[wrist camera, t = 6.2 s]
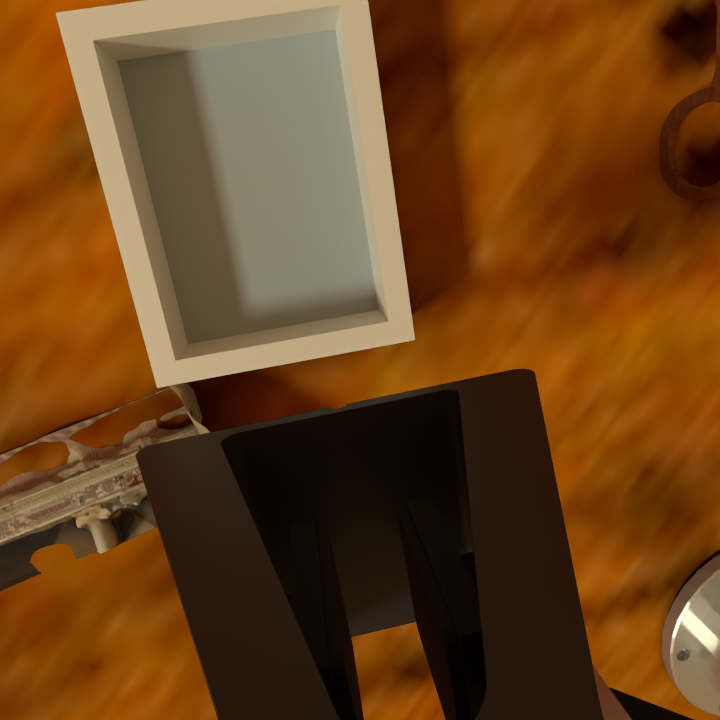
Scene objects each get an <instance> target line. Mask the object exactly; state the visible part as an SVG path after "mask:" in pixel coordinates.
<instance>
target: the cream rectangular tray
mask: <svg viewBox="0 0 720 720" xmlns="http://www.w3.org/2000/svg"><path fill="white" fill-rule="evenodd" d="M56 16H57V20H58V23H59V27H60V31H61V35H62V38H63V42H64V46H65V49H66V53H67V57H68V60H69V64H70V68H71V71H72V75H73V79H74V83H75V86H76V90H77V94H78V97H79V101H80V105H81V108H82V112H83V116H84V120H85V123H86V127H87V131H88V134H89V138H90V142H91V145H92V149H93V153H94V156H95V160H96V164H97V168H98V171H99V175H100V179H101V182H102V186H103V190H104V193H105V197H106V201H107V204H108V208H109V212H110V216H111V219H112V223H113V227H114V230H115V234H116V238H117V241H118V245H119V249H120V253H121V256H122V260H123V264H124V267H125V271H126V275H127V278H128V282H129V286H130V289H131V293H132V297H133V301H134V304H135V308H136V312H137V315H138V319H139V323H140V326H141V330H142V334H143V338H144V341H145V345H146V349H147V352H148V356H149V360H150V363H151V367H152V371H153V374H154V378H155V382H156V386H157V388H159V387H164V386H170V385H175V384H181V383H186V382H191V381H197V380H202V379H208V378H213V377H218V376H224V375H229V374H234V373H240V372H245V371H251V370H256V369H261V368H267V367H272V366H278V365H283V364H288V363H294V362H299V361H304V360H310V359H315V358H321V357H326V356H331V355H337V354H342V353H348V352H353V351H358V350H364V349H369V348H374V347H380V346H385V345H391V344H396V343H401V342H407V341H412V340H415V336H414V329H413V322H412V314H411V307H410V300H409V293H408V286H407V278H406V271H405V264H404V257H403V249H402V242H401V235H400V228H399V220H398V213H397V206H396V199H395V192H394V184H393V177H392V170H391V163H390V155H389V148H388V141H387V134H386V127H385V119H384V112H383V105H382V98H381V90H380V83H379V76H378V69H377V62H376V54H375V47H374V40H373V33H372V25H371V18H370V11H369V4H368V0H145V1H137V2H130V3H123V4H116V5H109V6H102V7H94V8H87V9H80V10H73V11H66V12H58V13H56Z"/></svg>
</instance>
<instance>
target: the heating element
mask: <svg viewBox="0 0 720 720" xmlns="http://www.w3.org/2000/svg"><path fill="white" fill-rule="evenodd" d="M171 388H172V389H173V390H174V391H175V392H176V393H177V394H178V396H179V397H180V398H181V400H182V401H183V403H184V406H183V407H182V408H180V409H178V410H175V411H172V412H171V413H167V414H165V415H164V416H162V417H161V421H166V420H169V419H171V418H172V417H173V416H175V415H183V414H188V415H189V416H190V418H191V420H192V423H191V424H190V425H188V426H185V427H183V428H180V429H175V430H166V429H161V428H159V427H158V426H157V424H156V420H150V421H144V422H143V423H141V424H140V425H139V426H138V427H137V428H136V429H135V430H133V431H130V432H128V433H127V434H126V435H125V436H124V440H123V444H122V445H121V446H107V447H103V448H95V449H93V448H90V447H86V446H84V445H82V444H81V443H77V442H75V441H72V440H70V439H68V438H69V437H71V436H72V435H73V434H74V433H75V432H77V431H78V430H80V429H83V428H85V427H88V426H90V425H91V424H92V423H93V422H95V421H96V420H98V419H99V418H102V417H104V416H106V415H109V414H111V413H113V412H115V411H117V410H118V409H120V408H121V407H119V408H117V409H114V410H111V411H109V412H106V413H104V414H101V415H99V416H96V417H93V418H91V419H88V420H85V421H83V422H80V423H77V424H75V425H72V426H70V427H67V428H65V429H62V430H59V431H57V432H54V433H52V434H49V435H47V436H44V437H42V438H40V439H38V440H36V441H34V442H31V443H29V444H27V445H24V446H22V447H19V448H17V449H14V450H11V451H9V452H6V453H4V454H1V455H0V463H1V462H4V461H6V460H7V459H8V458H10V457H11V456H13V455H14V453H16V452H18V451H19V450H22V449H24V448H26V447H28V446H30V445H33V444H35V443H39V442H58V441H63V442H65V443H67V447H68V450H69V452H70V455H69V457H68V461H67V463H66V464H65V465H63V466H58V467H57V468H56V469H53V470H49V471H38V472H33V471H31V472H26V473H21V474H19V475H17V476H15V477H13V478H12V479H11V480H9V481H8V482H7V483H5V484H4V485H2V486H0V591H2V590H4V589H6V588H8V587H11V586H13V585H15V584H17V583H20V582H22V581H24V580H27V579H29V578H31V577H34V576H36V575H38V574H41V572H39V571H38V570H37V569H36V568H35V567H34V566H33V565H32V564H31V563H29V562H30V559H31V556H32V555H33V553H34V552H35V551H37V550H38V549H40V548H43V547H45V546H49V545H54V544H67V545H70V546H71V548H72V550H73V551H74V553H75V555H76V559H78V558H80V557H83V556H86V555H88V554H91V553H94V552H96V551H98V552H99V553H104V552H106V551H109V550H110V549H112V548H114V547H116V546H117V545H119V544H121V543H123V542H125V541H127V540H129V539H131V538H133V537H135V536H138V535H140V534H142V533H145V532H147V531H149V530H152V529H154V528H157V523H156V520H155V517H154V514H153V511H152V507H151V504H150V501H149V498H148V495H147V491H146V488H145V485H144V482H143V479H142V475H141V472H140V469H139V466H138V463H137V459H136V453H137V452H138V451H140V450H141V449H143V448H145V447H147V446H150V445H153V444H157V443H161V442H166V441H171V440H176V439H181V438H186V437H190V436H195V435H200V434H205V433H210V432H209V431H208V429H206V428H205V427H204V426H202V424H201V421H202V414H201V410H200V407H199V404H198V401H197V399H196V394H195V391H194V389H193V388H191V387H190V386H189V385H188V384H186V383H181V384H175V385H170V386H169V388H166V389H164V390H161V391H159V392H162V391H165V390H168V389H171ZM159 392H156V393H154V394H157V393H159ZM154 394H151V395H149V396H152V395H154ZM149 396H147V397H149ZM144 398H146V397H144ZM144 398H142V399H144ZM139 400H141V399H139ZM139 400H137V401H139ZM137 401H134V402H137ZM134 402H132V403H134ZM129 404H131V403H129ZM127 405H128V404H127ZM124 406H126V405H124ZM122 407H123V406H122ZM66 439H68V440H66Z"/></svg>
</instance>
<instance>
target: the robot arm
mask: <svg viewBox="0 0 720 720" xmlns="http://www.w3.org/2000/svg"><path fill="white" fill-rule="evenodd" d="M397 517H398V522H399V528H400V534H401V540H402V545H403V551H404V557H405V562H406V568H407V574H408V579H409V585H410V591H411V597H412V602H413V608H414V614H415V619H416V623H417V627H418V631H419V635H420V638H421V641H422V644H423V648H424V651H425V654H426V657H427V661H428V664H429V667H430V670H431V673H432V677H433V680H434V683H435V686H436V690H437V693H438V696H439V699H440V703H441V706H442V709H443V712H444V715H445V719H446V720H474V719H475V718H476V716H477V715H478V713H479V711H480V709H481V707H482V705H483V702H484V699H485V694H486V687H487V679H486V668H485V658H484V647H483V637H482V627H481V616H480V606H479V596H478V585H477V575H476V565H475V554H474V551H473V552H468V553H464V554H460V555H459V553H458V551H457V549H456V547H455V545H454V543H453V541H452V539H451V537H450V535H449V533H448V531H447V529H446V527H445V525H444V523H443V521H442V519H441V517H440V515H439V513H438V511H437V509H436V507H435V505H434V503H433V501H432V499H431V497H430V496H429V497H424V498H420V499H415V500H411V501H406V502H405V509H402V510H397ZM290 557H291V593H290V594H286V597H287V599H288V602H289V604H290V606H291V609H292V611H293V613H294V616H295V618H296V620H297V623H298V625H299V627H300V630H301V632H302V634H303V636H304V639H305V641H306V643H307V646H308V648H309V650H310V653H311V655H312V657H313V660H314V662H315V664H316V667H317V669H318V671H319V674H320V676H321V678H322V680H323V683H324V685H325V687H326V690H327V692H328V694H329V697H330V699H331V701H332V704H333V706H334V708H335V711H336V713H337V715H338V717H339V719H340V720H364V718H363V711H362V705H361V698H360V691H359V685H358V678H357V671H356V665H355V658H354V651H353V645H352V640H351V634H350V630H349V625H348V620H347V616H346V611H345V606H344V602H343V597H342V592H341V588H340V583H339V578H338V574H337V569H336V564H335V560H334V555H333V550H332V546H331V541H330V537H329V532H328V528H327V526H325V527H321V528H318V527H317V523H316V522H311V523H307V524H302V525H298V526H293V527H290ZM662 655H663V660H664V665H665V668H666V670H667V672H668V674H669V676H670V678H671V680H672V681H673V682H674V684H675V685H676V686H677V688H678V689H679V690H680V692H681V693H682V694H683V695H684V696H685V697H686V698H687V699H688V700H689V701H690V702H691V703H692V704H693V705H694V706H696V707H698V708H700V709H702V710H703V711H705V712H707V713H710V714H713V715H716V716H720V554H719V555H717V556H716V557H714V558H713V559H711V560H710V561H709V562H708V563H707V564H705V565H704V566H703V567H702V568H700V569H699V570H698V571H697V572H696V573H695V574H694V575H693V576H692V577H691V579H690V580H689V581H688V582H687V583H686V584H685V585H684V587H683V588H682V590H681V591H680V593H679V594H678V596H677V597H676V599H675V600H674V602H673V604H672V607H671V609H670V611H669V613H668V616H667V618H666V622H665V626H664V630H663V634H662ZM593 670H594V675H595V681H596V686H597V691H598V696H599V701H600V705H601V709H602V714H603V718H604V720H693V719H691V718H688V717H686V716H683V715H680V714H678V713H675V712H672V711H670V710H667V709H665V708H662V707H659V706H657V705H654V704H651V703H649V702H646V701H644V700H641V699H638V698H636V697H633V696H630V695H628V694H625V693H623V692H620V691H617V690H615V689H612V688H609V687H608V686H607V684H606V683H605V681H604V680H603V679H602V677H601V676H600V675H599V673H598V672H597V670H596V669H595V668H594V666H593Z"/></svg>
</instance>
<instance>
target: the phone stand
mask: <svg viewBox="0 0 720 720" xmlns="http://www.w3.org/2000/svg"><path fill="white" fill-rule="evenodd" d="M136 459H137V463H138V466H139V469H140V472H141V475H142V479H143V482H144V485H145V488H146V491H147V495H148V498H149V501H150V504H151V507H152V511H153V514H154V517H155V520H156V523H157V527H158V530H159V533H160V536H161V539H162V543H163V546H164V549H165V552H166V555H167V559H168V562H169V565H170V568H171V571H172V574H173V578H174V581H175V584H176V587H177V590H178V594H179V597H180V600H181V603H182V606H183V610H184V613H185V616H186V619H187V622H188V626H189V629H190V632H191V635H192V638H193V642H194V645H195V648H196V651H197V654H198V658H199V661H200V664H201V667H202V670H203V674H204V677H205V680H206V683H207V686H208V689H209V693H210V696H211V699H212V702H213V705H214V708H215V712H216V715H217V718H218V720H340V719H339V717H338V715H337V713H336V711H335V708H334V706H333V704H332V701H331V699H330V697H329V694H328V692H327V690H326V687H325V685H324V683H323V680H322V678H321V676H320V674H319V671H318V669H317V667H316V664H315V662H314V660H313V657H312V655H311V653H310V650H309V648H308V646H307V643H306V641H305V639H304V636H303V634H302V632H301V630H300V627H299V625H298V623H297V620H296V618H295V616H294V613H293V611H292V609H291V606H290V604H289V602H288V599H287V597H286V594H290V593H291V557H290V527H293V526H298V525H302V524H307V523H311V522H316V523H317V527H318V528H321V527H325V526H327V528H328V532H329V537H330V541H331V546H332V550H333V555H334V560H335V564H336V569H337V574H338V578H339V583H340V588H341V592H342V597H343V602H344V606H345V611H346V616H347V620H348V625H349V630H350V634H351V637H354V636H358V635H362V634H366V633H371V632H375V631H379V630H383V629H387V628H392V627H396V626H400V625H404V624H408V623H413V622H416V619H415V614H414V608H413V602H412V597H411V591H410V585H409V579H408V574H407V568H406V562H405V557H404V551H403V545H402V540H401V534H400V528H399V522H398V517H397V510H402V509H405V502H406V501H411V500H415V499H420V498H424V497H429V496H430V497H431V499H432V501H433V503H434V505H435V507H436V509H437V511H438V513H439V515H440V517H441V519H442V521H443V523H444V525H445V527H446V529H447V531H448V533H449V535H450V537H451V539H452V541H453V543H454V545H455V547H456V549H457V551H458V553H459V555H460V554H464V553H468V552H473V551H474V554H475V565H476V575H477V585H478V596H479V606H480V616H481V627H482V637H483V647H484V658H485V668H486V679H487V687H486V694H485V699H484V702H483V705H482V707H481V709H480V711H479V713H478V715H477V716H476V718H475V719H474V720H604V718H603V714H602V709H601V705H600V701H599V696H598V691H597V686H596V681H595V675H594V670H593V665H592V660H591V655H590V650H589V645H588V640H587V635H586V630H585V625H584V620H583V615H582V610H581V605H580V599H579V594H578V589H577V584H576V579H575V574H574V569H573V564H572V559H571V554H570V549H569V544H568V539H567V534H566V529H565V523H564V518H563V513H562V508H561V503H560V498H559V493H558V488H557V483H556V478H555V473H554V468H553V463H552V458H551V453H550V448H549V442H548V437H547V432H546V427H545V422H544V417H543V412H542V407H541V402H540V397H539V392H538V387H537V382H536V377H535V372H534V371H532V370H528V369H514V370H509V371H504V372H499V373H494V374H489V375H485V376H480V377H475V378H470V379H465V380H460V381H456V382H451V383H446V384H441V385H436V386H432V387H427V388H422V389H417V390H412V391H407V392H403V393H398V394H393V395H388V396H383V397H378V398H374V399H369V400H364V401H359V402H354V403H350V404H346V406H345V407H343V408H340V409H331V408H325V409H321V410H316V411H311V412H306V413H301V414H296V415H292V416H287V417H282V418H277V419H272V420H268V421H263V422H258V423H253V424H248V425H243V426H239V427H234V428H229V429H224V430H219V431H214V432H210V433H205V434H200V435H195V436H190V437H186V438H181V439H176V440H171V441H166V442H161V443H157V444H153V445H150V446H147V447H145V448H143V449H141V450H140V451H138V452H137V453H136Z"/></svg>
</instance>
